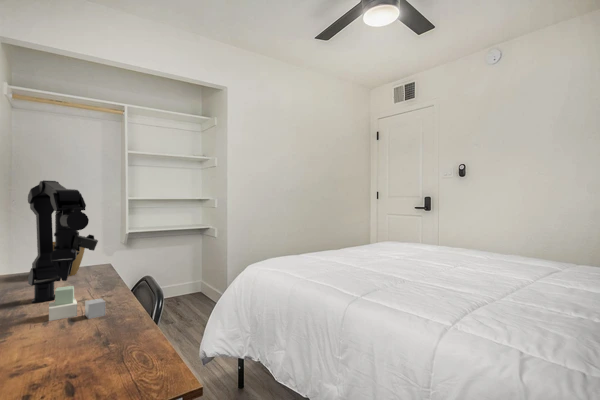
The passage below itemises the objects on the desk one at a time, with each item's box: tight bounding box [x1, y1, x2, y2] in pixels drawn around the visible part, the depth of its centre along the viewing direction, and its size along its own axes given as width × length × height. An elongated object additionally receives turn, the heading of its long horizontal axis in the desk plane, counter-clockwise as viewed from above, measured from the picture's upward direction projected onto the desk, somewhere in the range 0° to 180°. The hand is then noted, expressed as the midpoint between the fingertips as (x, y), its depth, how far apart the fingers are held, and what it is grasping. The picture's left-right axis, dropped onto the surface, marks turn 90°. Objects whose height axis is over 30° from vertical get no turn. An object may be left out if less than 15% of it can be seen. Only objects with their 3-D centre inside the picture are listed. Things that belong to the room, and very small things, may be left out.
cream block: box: [48, 298, 78, 322], centre depth 102 cm, size 7×7×4 cm
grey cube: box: [84, 297, 106, 320], centre depth 102 cm, size 4×4×4 cm
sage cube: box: [54, 285, 75, 306], centre depth 103 cm, size 4×4×4 cm
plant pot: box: [53, 241, 86, 277], centre depth 155 cm, size 15×15×16 cm
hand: (66, 277), depth 103 cm, fingers open, 9 cm apart
